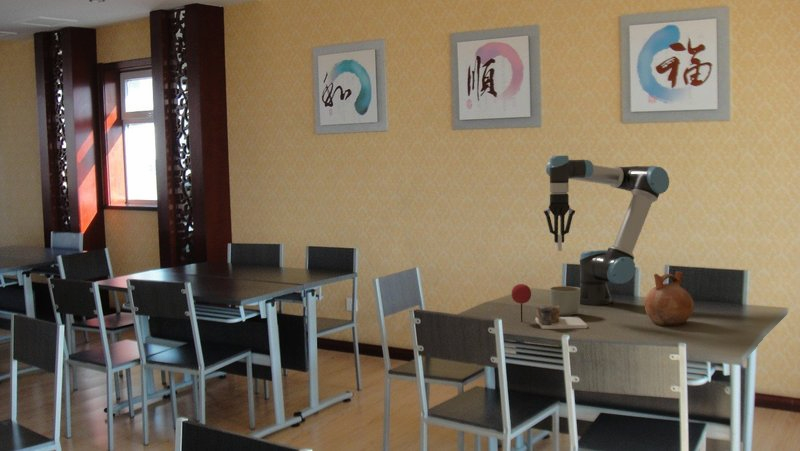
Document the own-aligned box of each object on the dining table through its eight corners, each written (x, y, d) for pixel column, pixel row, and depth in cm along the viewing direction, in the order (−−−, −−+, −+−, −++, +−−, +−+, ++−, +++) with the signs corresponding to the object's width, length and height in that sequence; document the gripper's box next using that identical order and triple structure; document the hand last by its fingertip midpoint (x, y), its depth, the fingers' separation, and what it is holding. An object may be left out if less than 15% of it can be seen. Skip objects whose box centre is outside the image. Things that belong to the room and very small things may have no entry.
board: (578, 319, 326) (578, 316, 326) (587, 328, 310) (587, 325, 310) (535, 320, 326) (535, 317, 326) (542, 329, 310) (542, 325, 310)
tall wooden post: (545, 320, 325) (545, 304, 325) (552, 328, 311) (552, 311, 310) (536, 320, 325) (536, 304, 325) (542, 328, 311) (542, 311, 310)
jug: (668, 330, 304) (669, 276, 302) (633, 321, 320) (634, 271, 318) (704, 324, 313) (704, 272, 311) (668, 316, 329) (669, 267, 327)
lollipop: (532, 320, 327) (532, 283, 325) (529, 324, 320) (529, 286, 318) (513, 319, 329) (513, 282, 328) (510, 323, 322) (509, 285, 321)
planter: (586, 314, 337) (586, 288, 336) (570, 319, 328) (570, 292, 327) (560, 310, 345) (560, 285, 344) (544, 315, 336) (544, 289, 335)
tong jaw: (556, 316, 325) (556, 301, 324) (560, 325, 309) (560, 308, 309) (537, 316, 326) (537, 301, 325) (540, 325, 310) (540, 308, 310)
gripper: (573, 192, 338) (573, 249, 340) (541, 193, 338) (541, 249, 340) (577, 193, 330) (577, 251, 332) (544, 194, 330) (545, 251, 332)
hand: (559, 250), depth 336 cm, fingers closed
